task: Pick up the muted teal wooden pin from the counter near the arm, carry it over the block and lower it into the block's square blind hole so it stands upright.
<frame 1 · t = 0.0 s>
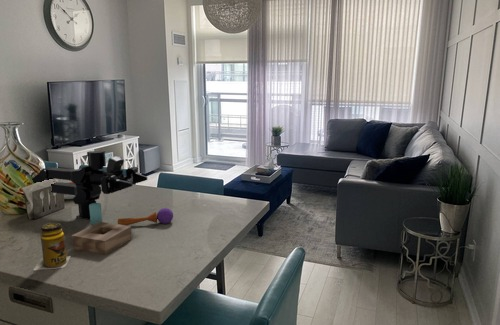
hand: (139, 181, 139), 17 cm above the kitchen island, tool horizontal, fingers open, 9 cm apart
wooden maraca: (146, 225, 142), on the kitchen island
condiment: (52, 264, 111), on the kitchen island
hole block: (103, 243, 125), on the kitchen island
pin: (97, 228, 139), on the kitchen island
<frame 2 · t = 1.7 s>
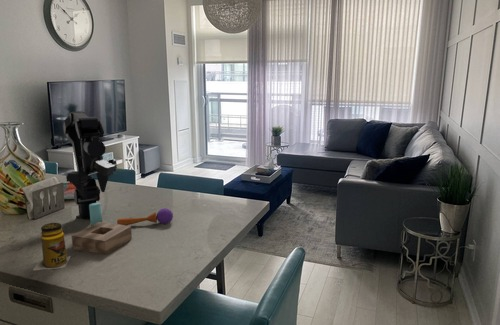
hand: (94, 195, 136), 12 cm above the kitchen island, tool pointing down, fingers open, 9 cm apart
nothing on the kitchen island moved.
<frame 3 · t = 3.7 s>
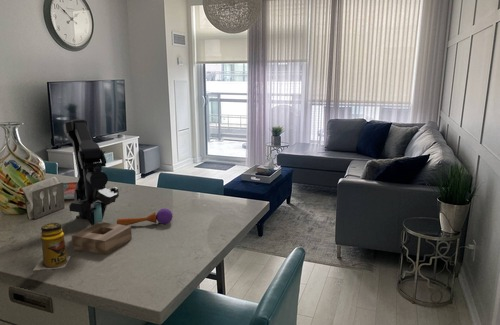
hand: (96, 222, 138), 2 cm above the kitchen island, tool pointing down, fingers closed on pin, 4 cm apart
pin: (97, 227, 139), on the kitchen island, touching gripper
everything else where it was.
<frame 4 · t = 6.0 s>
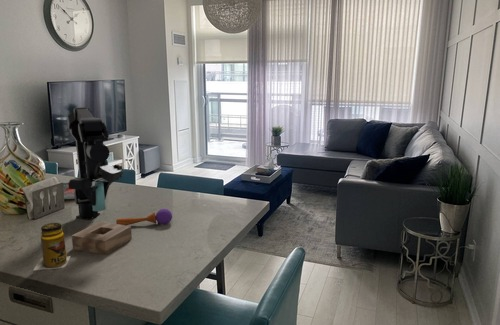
hand: (98, 203, 126), 13 cm above the kitchen island, tool pointing down, fingers closed on pin, 4 cm apart
pin: (99, 209, 126), point 11 cm above the kitchen island, touching gripper
everything else where it was.
when the fingers open (5 cm above the kitchen island, at t = 8.6 s): pin drops 2 cm, resting on hole block.
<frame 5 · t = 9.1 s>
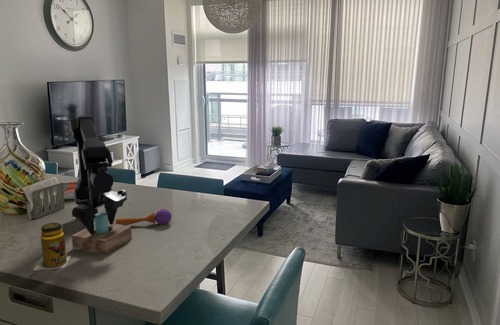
hand: (102, 229, 124), 5 cm above the kitchen island, tool pointing down, fingers open, 9 cm apart
pin: (103, 240, 125), point 1 cm above the kitchen island, touching hole block
everything else where it was.
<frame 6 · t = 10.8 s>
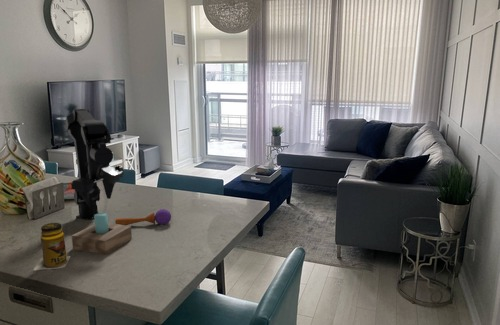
hand: (99, 202, 131), 11 cm above the kitchen island, tool pointing down, fingers open, 9 cm apart
nothing on the kitchen island moved.
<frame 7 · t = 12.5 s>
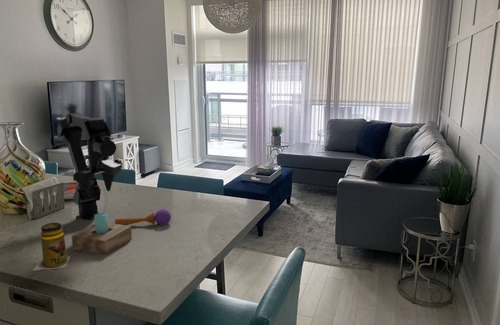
hand: (100, 194, 139), 12 cm above the kitchen island, tool pointing down, fingers open, 9 cm apart
nothing on the kitchen island moved.
at the end: pin 0.0 cm off-centre on the hole block, point 1.0 cm above the hole block's base; pin tilted 1°; the gripper is holding nothing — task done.
